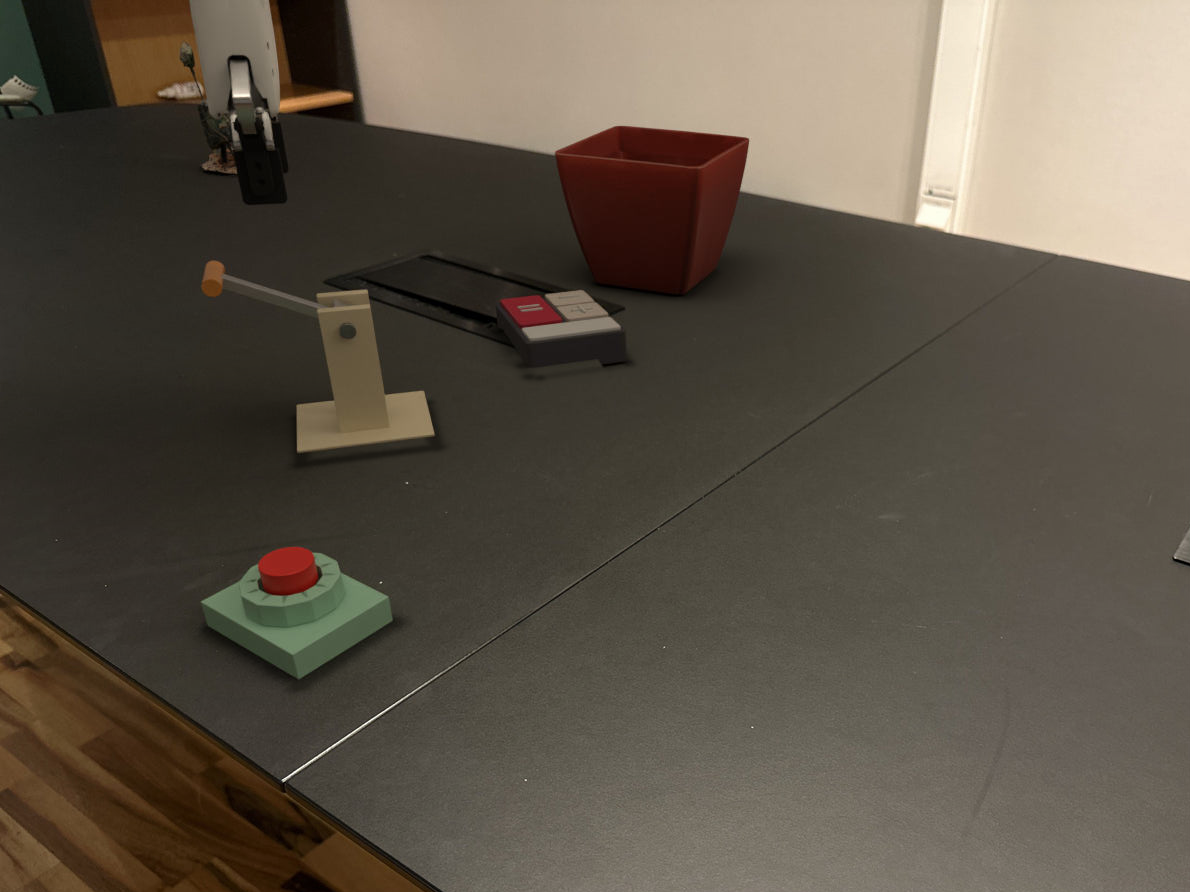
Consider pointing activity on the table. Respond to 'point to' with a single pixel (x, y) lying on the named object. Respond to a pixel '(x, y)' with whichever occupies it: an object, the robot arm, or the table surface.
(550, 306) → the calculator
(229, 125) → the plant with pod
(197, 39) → the robot arm
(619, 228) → the flower pot
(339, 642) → the control block
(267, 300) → the lever
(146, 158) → the table surface
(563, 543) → the table surface
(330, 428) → the bracket
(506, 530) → the table surface
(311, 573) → the button
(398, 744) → the table surface
